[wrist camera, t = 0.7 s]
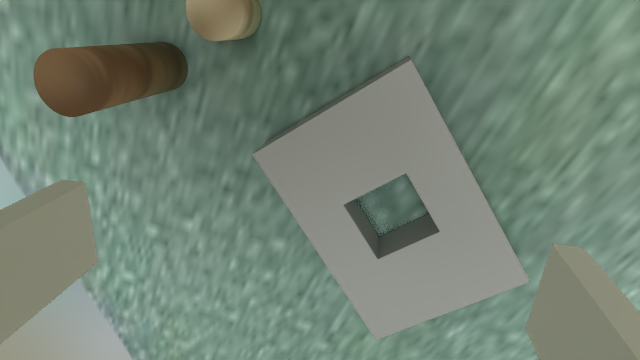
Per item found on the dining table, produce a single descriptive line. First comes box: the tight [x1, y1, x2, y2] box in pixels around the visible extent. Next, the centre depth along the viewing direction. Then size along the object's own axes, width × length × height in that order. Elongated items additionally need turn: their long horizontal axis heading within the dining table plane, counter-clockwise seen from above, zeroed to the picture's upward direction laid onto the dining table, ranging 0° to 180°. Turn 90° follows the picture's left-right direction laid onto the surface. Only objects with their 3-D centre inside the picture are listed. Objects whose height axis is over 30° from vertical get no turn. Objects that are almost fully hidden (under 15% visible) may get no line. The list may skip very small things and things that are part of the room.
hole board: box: [252, 56, 530, 340], centre depth 35 cm, size 20×14×4 cm
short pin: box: [186, 0, 261, 41], centre depth 31 cm, size 4×4×5 cm
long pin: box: [34, 42, 188, 117], centre depth 30 cm, size 4×4×12 cm
